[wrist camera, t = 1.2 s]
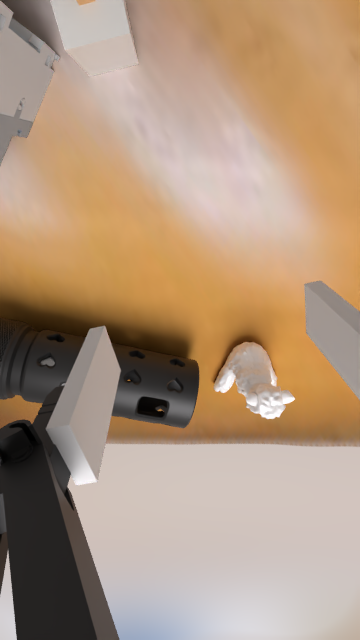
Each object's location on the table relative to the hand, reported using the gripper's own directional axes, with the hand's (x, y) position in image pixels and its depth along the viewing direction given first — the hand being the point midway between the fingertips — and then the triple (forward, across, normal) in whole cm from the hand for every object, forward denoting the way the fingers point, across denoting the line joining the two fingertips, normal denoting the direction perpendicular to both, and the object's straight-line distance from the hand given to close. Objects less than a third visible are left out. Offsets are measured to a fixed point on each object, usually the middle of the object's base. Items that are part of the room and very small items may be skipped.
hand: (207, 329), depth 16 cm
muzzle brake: (+26, +16, +14) cm, 34 cm away
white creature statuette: (+26, -5, +21) cm, 34 cm away
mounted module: (+26, +4, -20) cm, 33 cm away
